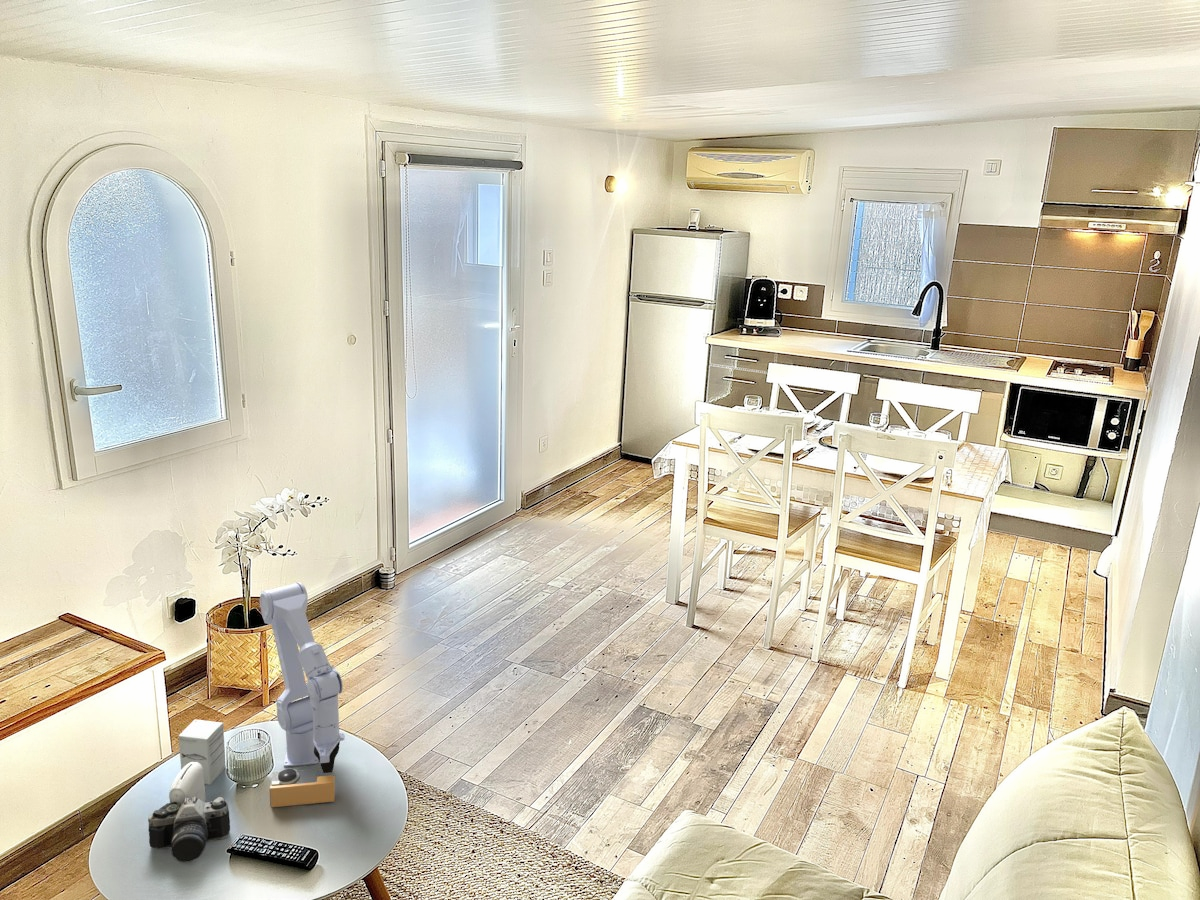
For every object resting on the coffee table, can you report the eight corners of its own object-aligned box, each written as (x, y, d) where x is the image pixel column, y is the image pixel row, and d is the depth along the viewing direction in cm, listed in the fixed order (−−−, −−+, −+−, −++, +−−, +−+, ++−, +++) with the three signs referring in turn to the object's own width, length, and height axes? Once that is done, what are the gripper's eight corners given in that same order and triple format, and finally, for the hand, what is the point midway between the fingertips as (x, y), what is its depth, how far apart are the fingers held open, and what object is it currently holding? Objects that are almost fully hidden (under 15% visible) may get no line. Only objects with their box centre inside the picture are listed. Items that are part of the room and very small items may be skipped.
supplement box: (180, 782, 207) (176, 735, 204) (198, 763, 214) (194, 717, 211) (210, 786, 207) (206, 739, 203) (227, 767, 214) (223, 721, 210)
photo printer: (189, 835, 191) (185, 786, 187) (169, 834, 190) (165, 785, 187) (208, 804, 200) (205, 756, 197) (189, 803, 200) (185, 756, 197)
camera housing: (273, 788, 207) (272, 768, 205) (318, 784, 209) (317, 764, 207) (270, 806, 201) (269, 785, 199) (316, 801, 203) (315, 781, 202)
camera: (144, 873, 180) (140, 832, 177) (152, 839, 189) (148, 799, 186) (228, 859, 185) (225, 818, 182) (231, 826, 194) (228, 787, 191)
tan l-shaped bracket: (272, 799, 202) (271, 780, 201) (335, 793, 206) (334, 775, 204) (271, 807, 200) (270, 788, 198) (334, 801, 203) (333, 782, 202)
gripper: (342, 737, 198) (343, 788, 202) (345, 702, 212) (347, 751, 216) (309, 739, 197) (311, 791, 200) (314, 704, 210) (316, 754, 214)
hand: (327, 771), depth 208 cm, fingers closed
